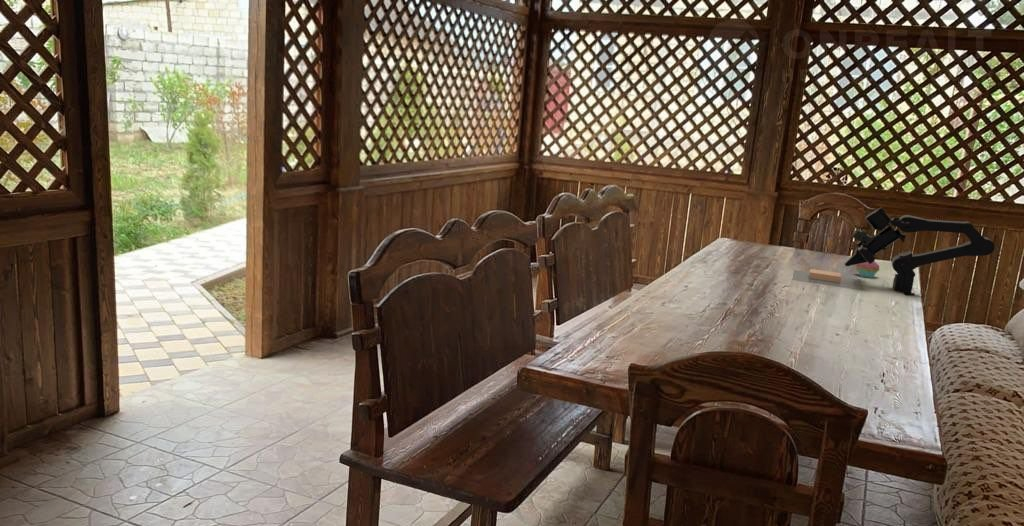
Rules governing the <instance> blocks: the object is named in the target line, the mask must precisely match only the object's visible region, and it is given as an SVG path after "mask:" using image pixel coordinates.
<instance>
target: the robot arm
mask: <svg viewBox="0 0 1024 526" xmlns="http://www.w3.org/2000/svg"><path fill="white" fill-rule="evenodd" d="M864 219H865V221H867V223H868V224H869V225H870V227H872V229H873V230H875V231H876V230H877V231H880V232H878V233H877V234H872V235H869V234H868V233H867V232H866V231H864V230H860V229H858V228H856V229H855V231H853V233H852V234H851V237H852V238H853V239H854V240H858V241H857V242H856V246H855V249H854V250H855V251H854V253H853V254H852V255H851V257H850V258H848V259H847V260H846V262H845V263H844V265H845V267H851V266H854V265H855V266H856V264H860V263H865V262H868V263H869V264H871V263H872V262H876V261H875V260H876V256H877V255H878V254H879V253H880V252H881V251H886V249H887V248H888V247H889V246H891V245H892V244H893V243H895V242H897V240H900V241H901V242H902V243H905V241H906V240H905V239H906V236H907V235H906V234H905V233H918V232H924V231H929V232H930V231H931V232H941V233H942V232H943V233H944V232H945V233H958V234H964V235H965V236H966V237H967V239H969V240H968V241H966V242H964V243H962V244H960V245H954V246H950V247H946V248H940V249H936V250H933V251H932V250H931V251H928V252H922V253H919V254H918V253H917V254H916V253H915V254H913V253H912V251H911V250H909V251H905V252H898V253H897V254H898V255H895V256H894V257H893V258H892V259H891V266H892V268H893V270H894V271H895V272H896V273H895V274H894V278H893V282H892V288H891V289H893V291H894V292H895V291H896V292H899V293H902V294H903V295H907V296H908V295H910V296H911V295H912V296H914V295H916V293H914V292H912V291H913V286H914V282H915V276H916V272H915V269H917V268H919V267H922V266H925V265H930V264H933V263H940V262H943V261H948V260H952V259H957V258H961V257H983V256H989V255H991V254H993V252H994V250H995V244H994V243H995V242H993V241H992V240H991V239H990V238H988V237H986V236H983V235H982V234H981V233H980V232H979V231H978V230H977V229H976V228H975V227H974V225H973V224H972V223H971V222H969V221H967V220H964V221H957V220H956V221H954V220H939V219H926V218H923V217H919V216H915V215H910V214H903V215H902V216H900V217H890V216H889V215H888V213H887V212H885V210H884V208H883V207H881V206H880V207H879V208H877V209H876V210H874V211H872V212H869V214H867V215H866V216H865V217H864ZM892 226H893V227H892ZM894 227H895V228H894ZM898 228H899V229H898ZM901 231H902V232H903V233H902V232H901ZM857 246H858V247H857Z"/></svg>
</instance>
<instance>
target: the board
mask: <svg viewBox="0 0 1024 526" xmlns="http://www.w3.org/2000/svg"><path fill="white" fill-rule="evenodd" d="M809 273H810V271H804V270H797V269H793V274H792V281H796V282H797V281H798V282H803V283H812V284H818V285H823V286H824V285H825V286H830V287H831V286H832V287H838V288H845V289H851V290H858V291H863V288H862V286H863V285H862V284H861V279H860V278H853V277H847V276H841V282H840V283H835V282H828V281H822V280H815V279H809Z"/></svg>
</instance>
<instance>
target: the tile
mask: <svg viewBox="0 0 1024 526" xmlns="http://www.w3.org/2000/svg"><path fill="white" fill-rule="evenodd" d="M809 272H810V273H809V279H815V280H822V281H828V282H835V283H840V282H841V277H842V273H841V272H834V271H828V270H827V271H826V270H822V269H821V270H820V269H814V268H810V269H809Z"/></svg>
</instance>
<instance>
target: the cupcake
mask: <svg viewBox="0 0 1024 526" xmlns="http://www.w3.org/2000/svg"><path fill="white" fill-rule="evenodd" d="M855 267H856V269H857V271H858V276H859V277H863V278H868V279H869V278H870V279H872V278H874V277H875V275H876V274H877V273H878V272H879V271H880V265H879V264H878V263H877V262H876V261H874V262H872V263H871V264H869V263H868V262H865V263H860V264H855Z"/></svg>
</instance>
